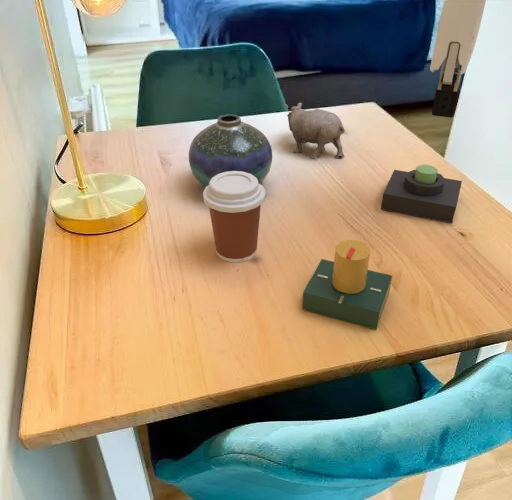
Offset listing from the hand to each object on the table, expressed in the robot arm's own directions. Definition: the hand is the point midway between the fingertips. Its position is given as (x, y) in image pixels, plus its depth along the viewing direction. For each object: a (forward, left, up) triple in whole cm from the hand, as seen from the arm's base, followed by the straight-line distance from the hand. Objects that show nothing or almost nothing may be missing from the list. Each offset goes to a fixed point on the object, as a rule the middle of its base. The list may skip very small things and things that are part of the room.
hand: (442, 114), depth 78 cm
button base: (+1, -2, -17) cm, 17 cm away
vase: (+35, +5, -17) cm, 39 cm away
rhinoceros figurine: (+27, -17, -17) cm, 37 cm away
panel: (+6, +29, -17) cm, 34 cm away
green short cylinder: (+1, -2, -13) cm, 13 cm away
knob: (+6, +29, -14) cm, 32 cm away
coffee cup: (+25, +24, -17) cm, 38 cm away
